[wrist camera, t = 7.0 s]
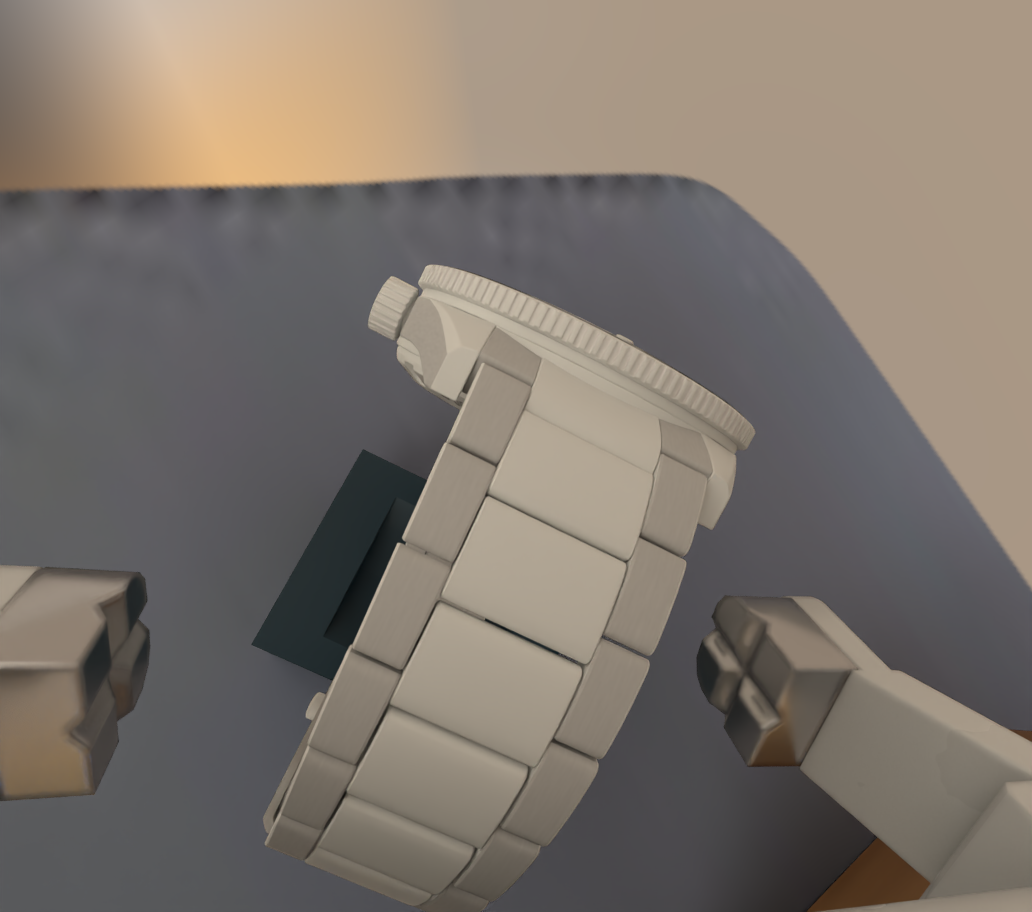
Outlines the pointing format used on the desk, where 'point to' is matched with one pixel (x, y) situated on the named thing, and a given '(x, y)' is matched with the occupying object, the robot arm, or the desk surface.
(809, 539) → the desk surface
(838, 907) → the wooden display stand
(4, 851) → the desk surface
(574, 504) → the watch
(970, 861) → the robot arm
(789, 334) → the desk surface
